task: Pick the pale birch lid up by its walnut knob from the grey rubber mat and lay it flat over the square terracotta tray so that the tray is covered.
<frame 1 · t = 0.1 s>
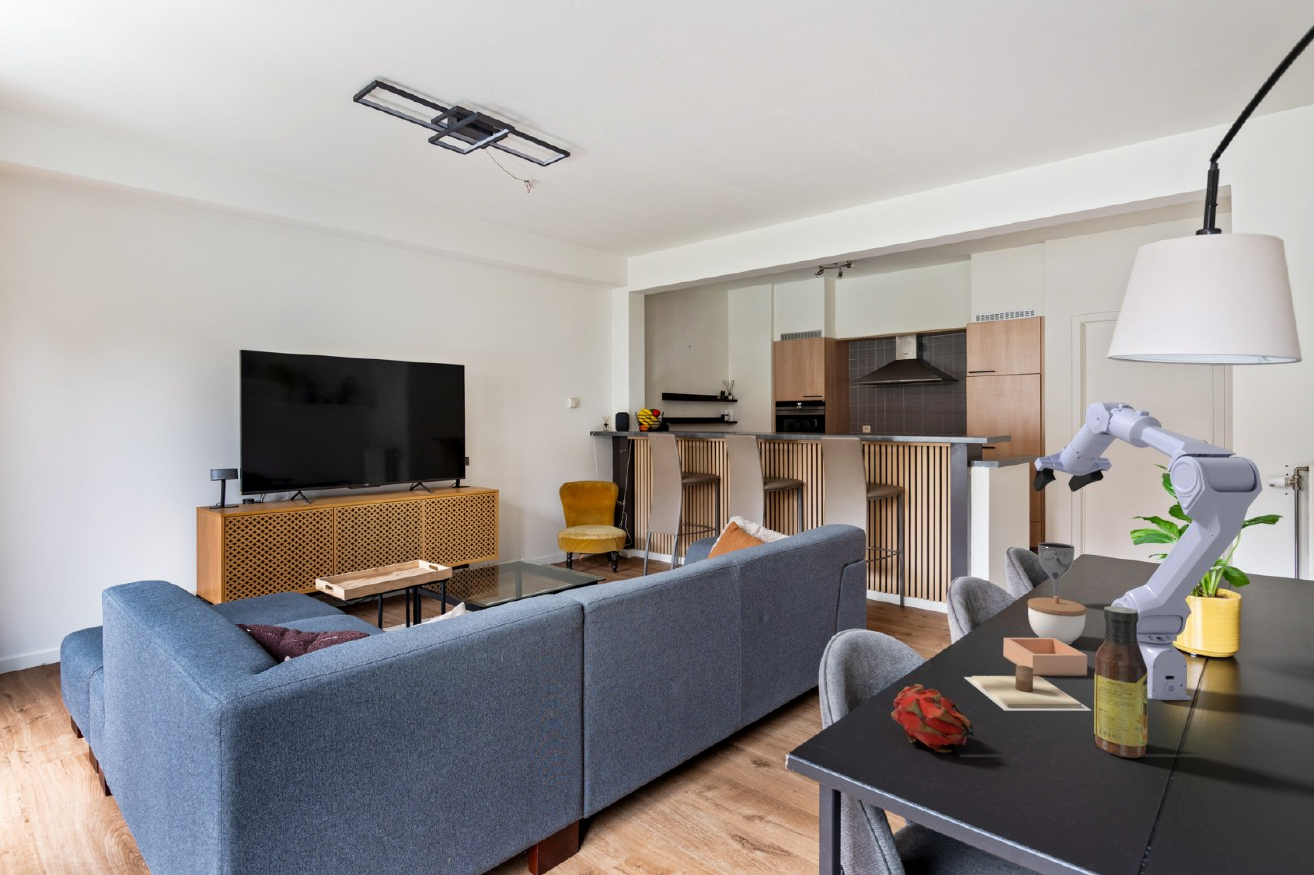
hand: (1053, 487, 147), 32 cm above the table, tool tilted 50°, fingers open, 7 cm apart
sauce bottle: (1119, 750, 98), on the table
wine glass: (1054, 604, 175), on the table
lidded jar: (1055, 641, 146), on the table
dragon fruit: (931, 744, 99), on the table
grey mat: (1023, 695, 116), on the table
terracotta tray: (1043, 667, 130), on the table
birch lid: (1023, 692, 116), on the table, touching grey mat
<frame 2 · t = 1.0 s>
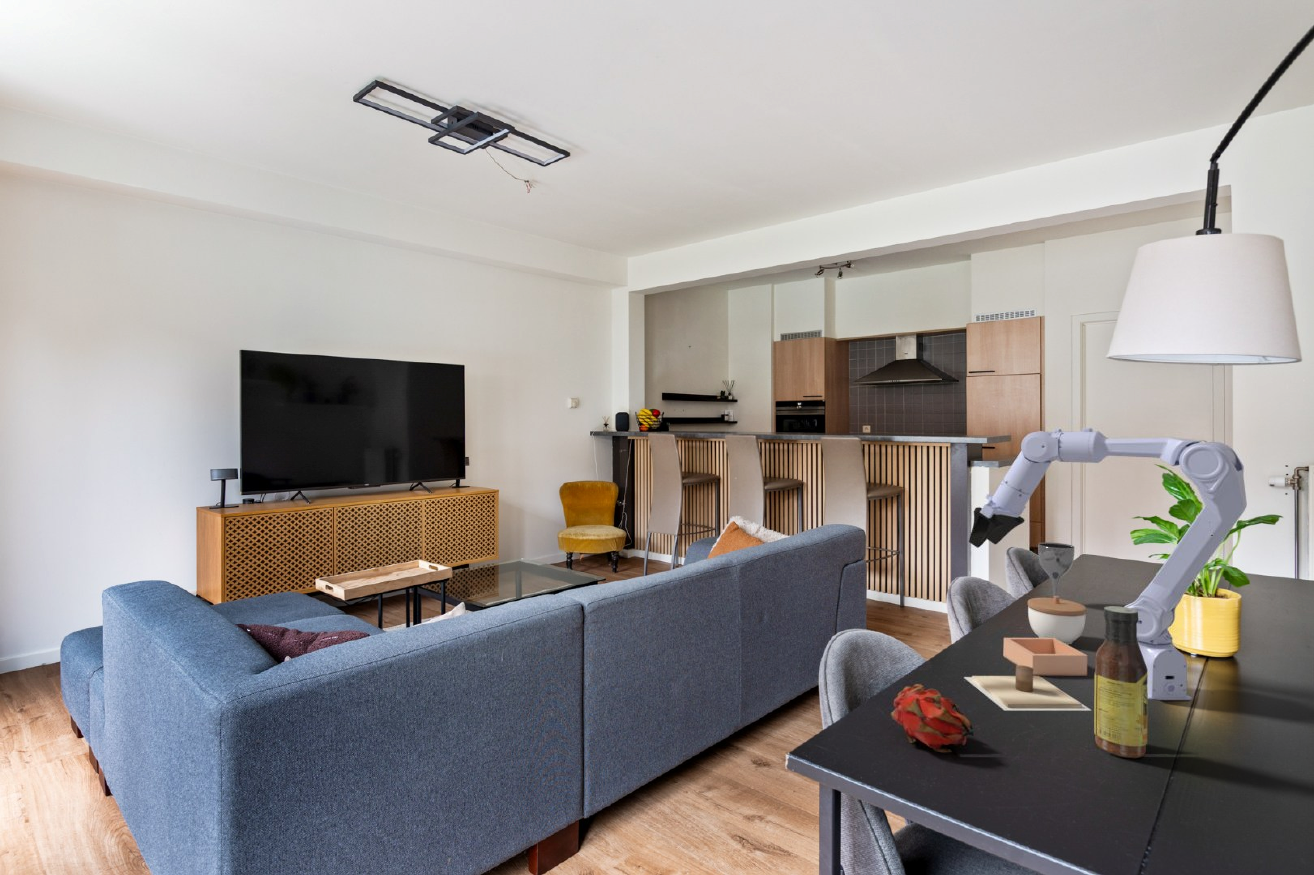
hand: (982, 543, 140), 21 cm above the table, tool tilted 30°, fingers open, 7 cm apart
nothing on the table moved.
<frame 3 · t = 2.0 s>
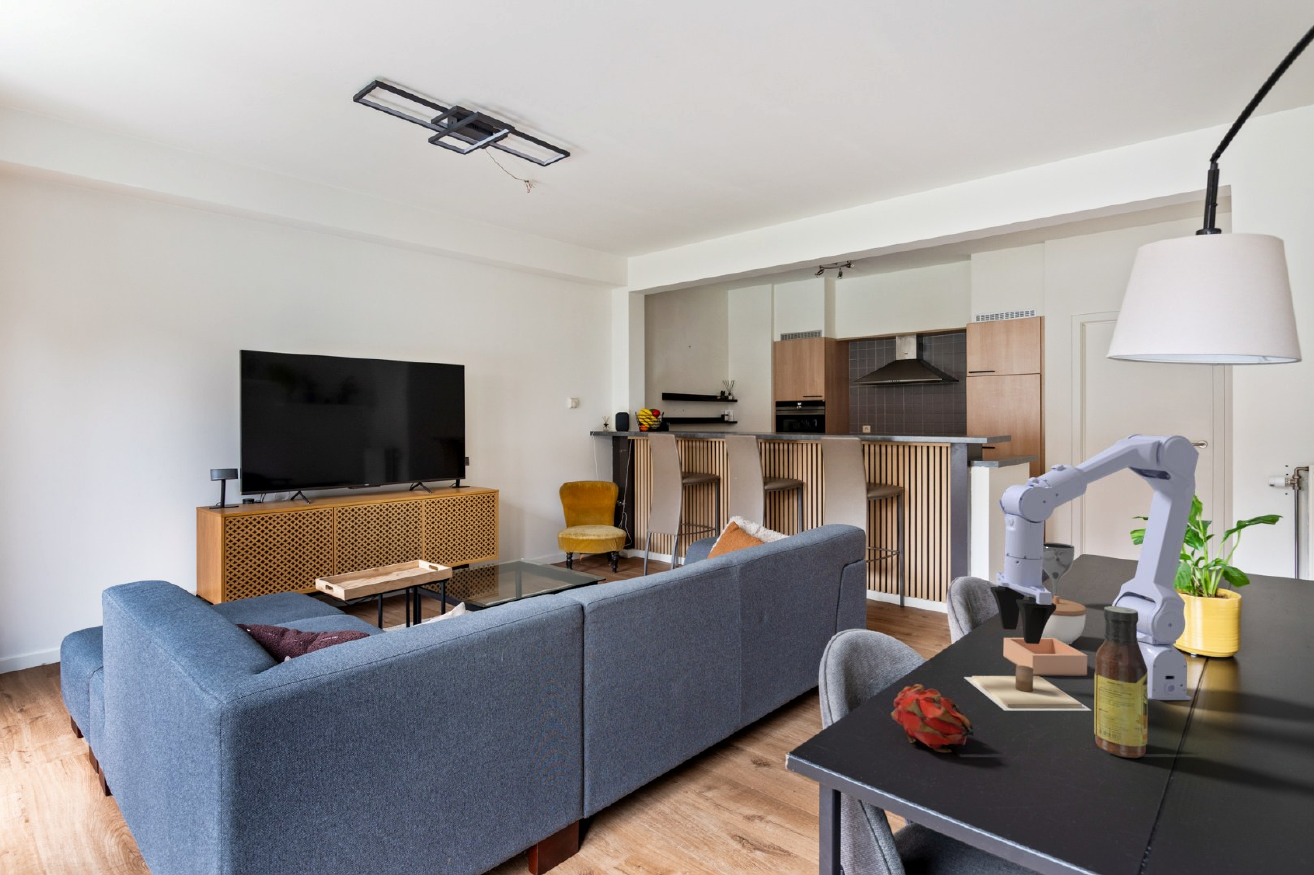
hand: (1020, 635, 117), 10 cm above the table, tool pointing down, fingers open, 7 cm apart
nothing on the table moved.
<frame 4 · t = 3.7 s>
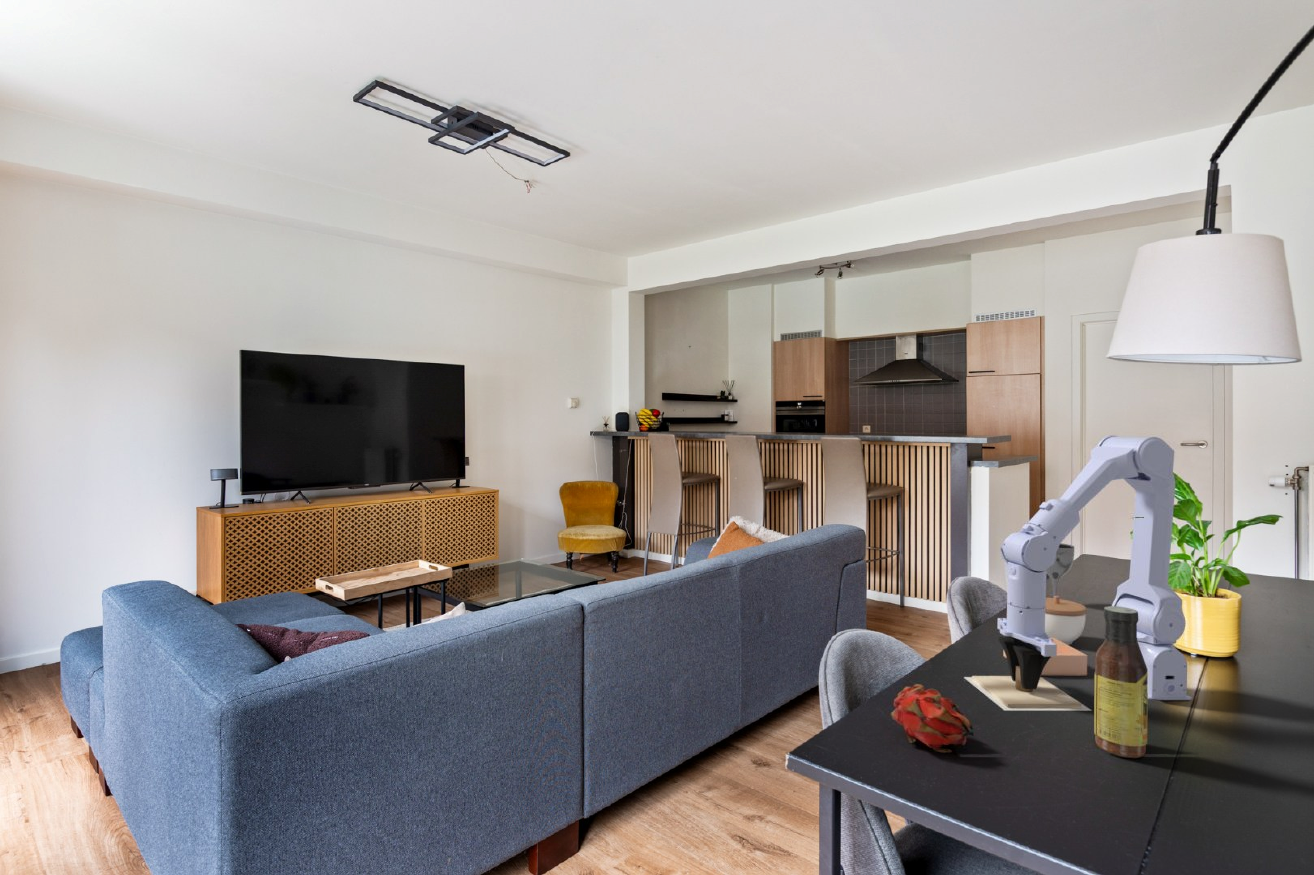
hand: (1024, 684, 116), 2 cm above the table, tool pointing down, fingers closed on birch lid, 3 cm apart
birch lid: (1023, 692, 116), on the table, touching grey mat, gripper
everything else where it was.
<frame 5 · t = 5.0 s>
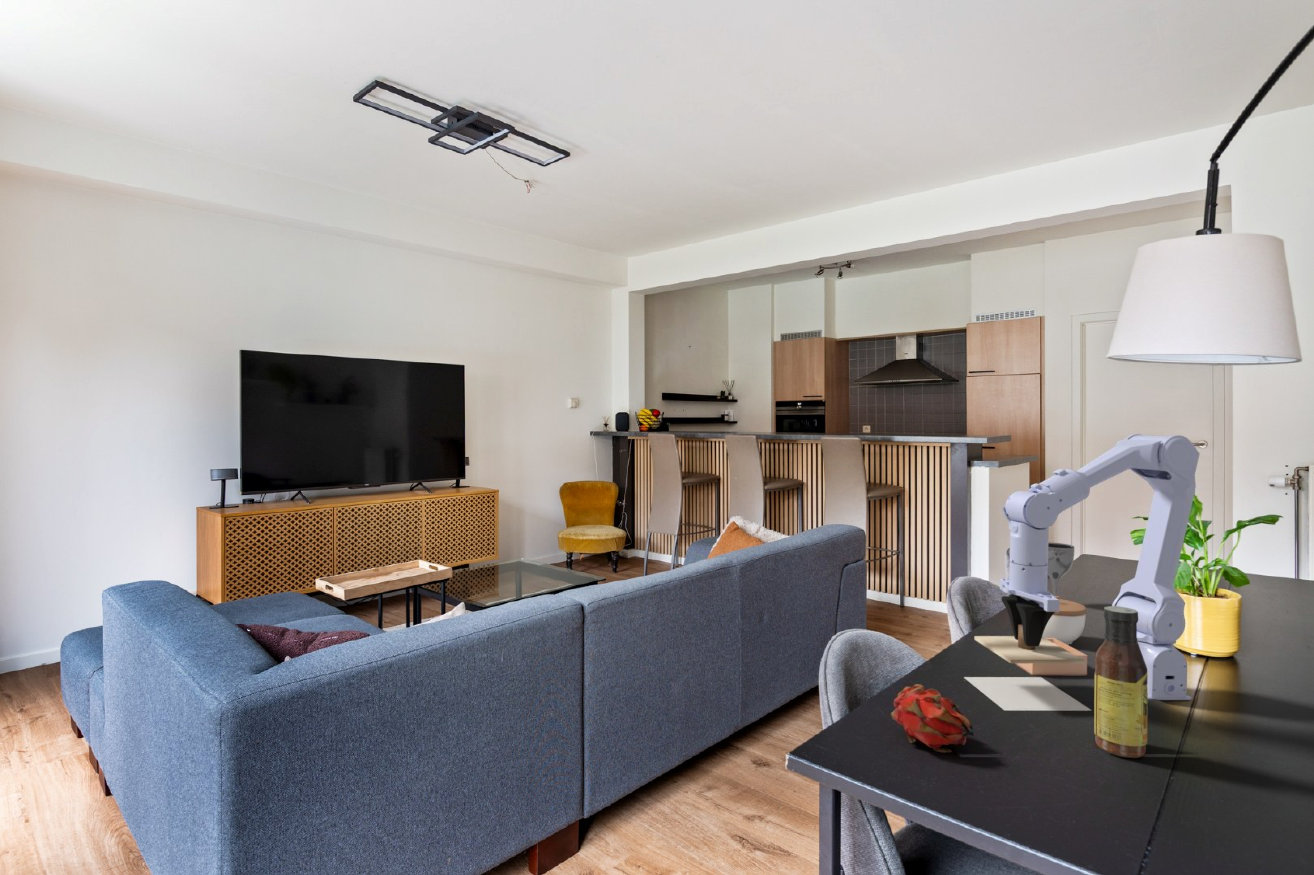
hand: (1026, 642, 117), 9 cm above the table, tool pointing down, fingers closed on birch lid, 3 cm apart
birch lid: (1026, 650, 117), point 7 cm above the table, touching gripper
everything else where it was.
when the fingers open (7 cm above the table, at t = 6.6 s): birch lid drops 1 cm, resting on terracotta tray.
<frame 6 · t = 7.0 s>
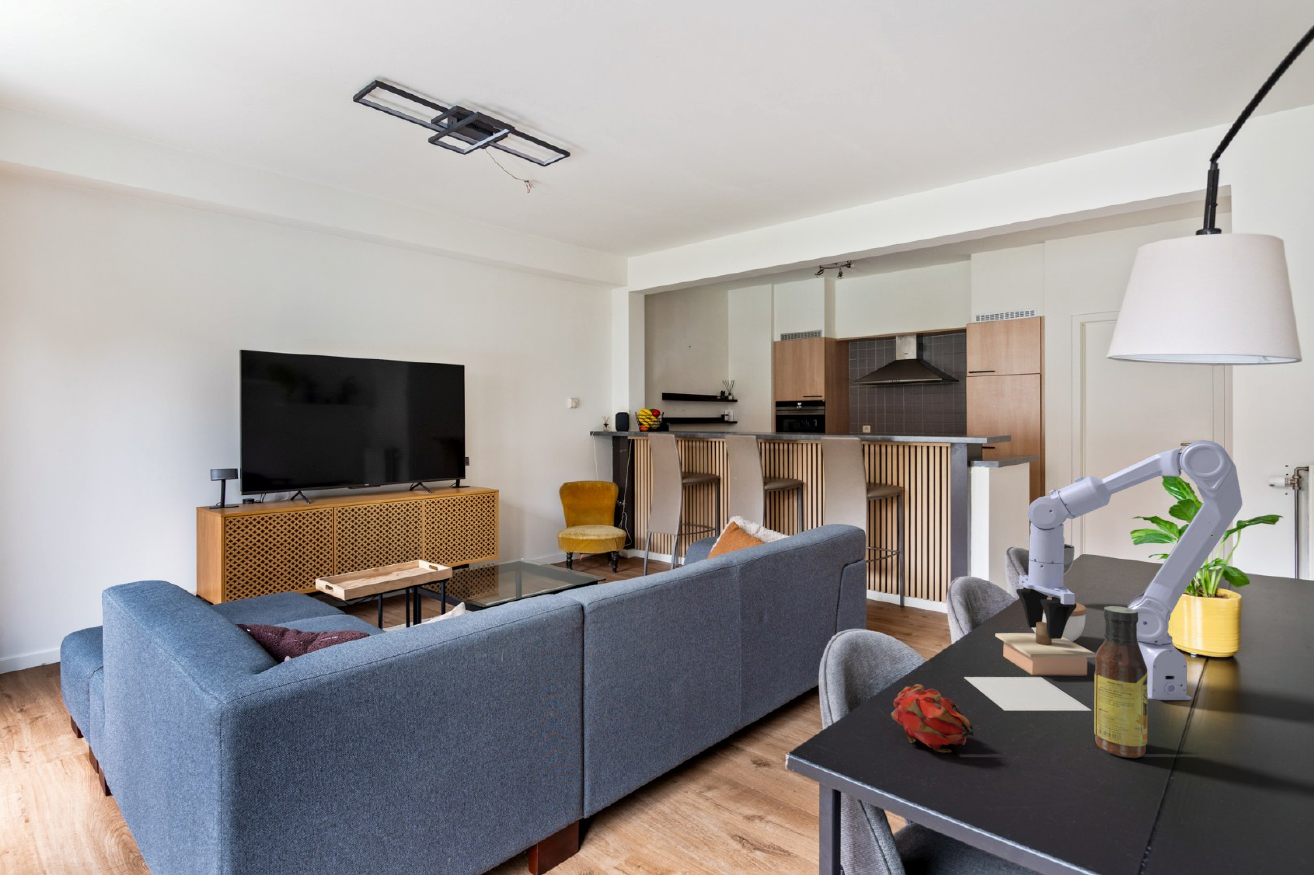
hand: (1044, 632, 129), 7 cm above the table, tool pointing down, fingers open, 6 cm apart
birch lid: (1043, 646, 130), point 4 cm above the table, touching terracotta tray
everything else where it was.
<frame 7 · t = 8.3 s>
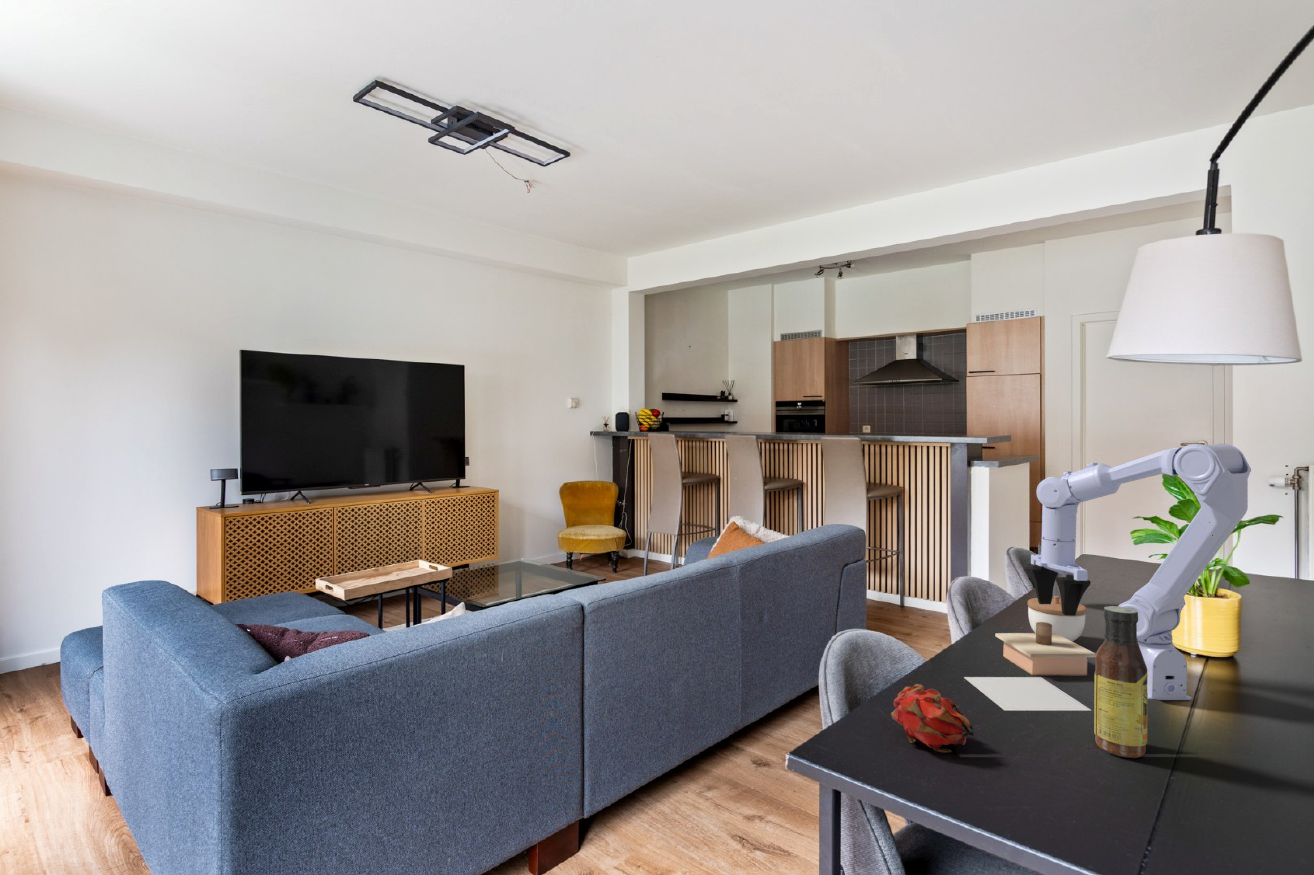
hand: (1056, 609, 133), 10 cm above the table, tool pointing down, fingers open, 7 cm apart
nothing on the table moved.
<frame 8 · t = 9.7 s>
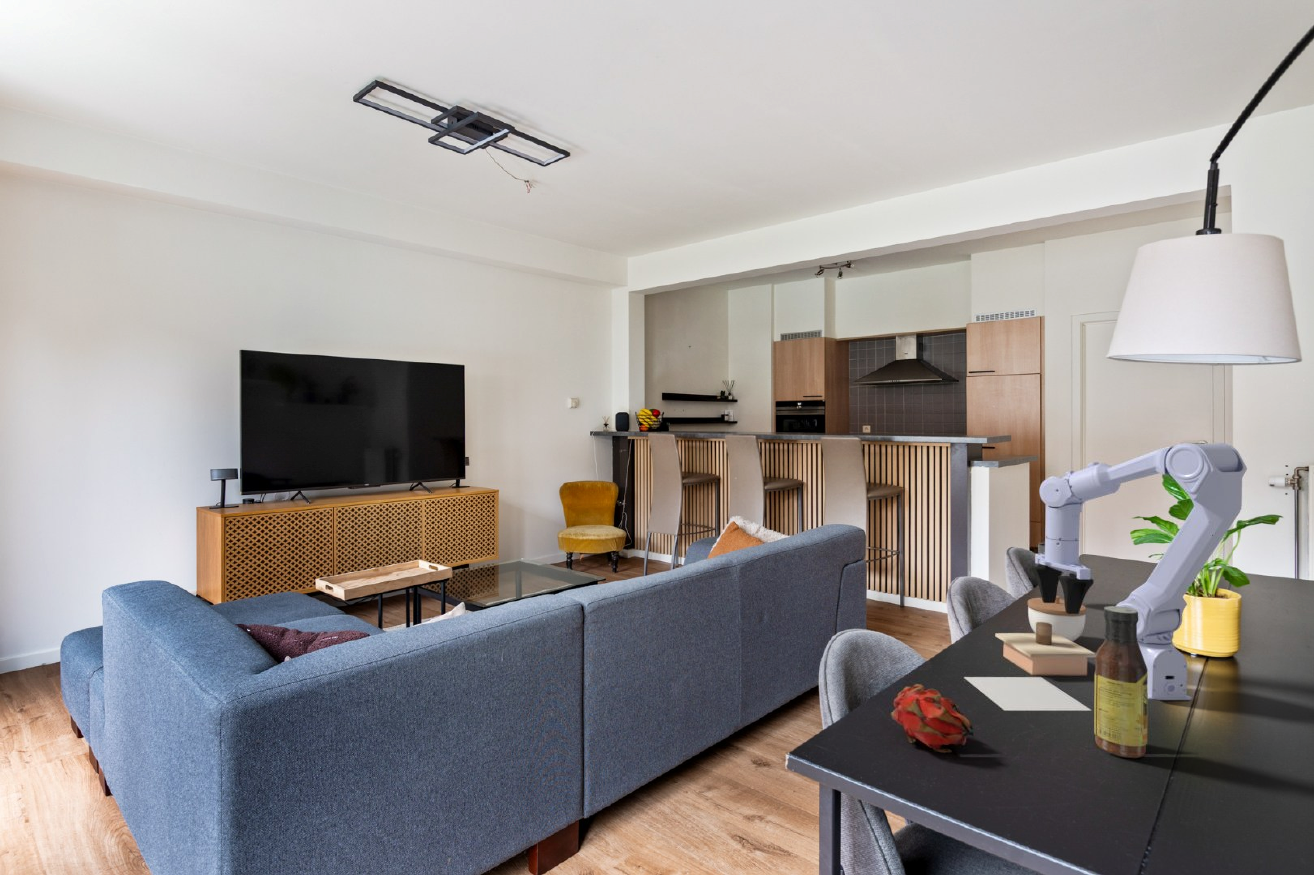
hand: (1060, 607, 135), 10 cm above the table, tool pointing down, fingers open, 7 cm apart
nothing on the table moved.
at the end: birch lid 0.1 cm off-centre on the terracotta tray, point 4.0 cm above the terracotta tray's base; birch lid tilted 0°; the gripper is holding nothing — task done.
